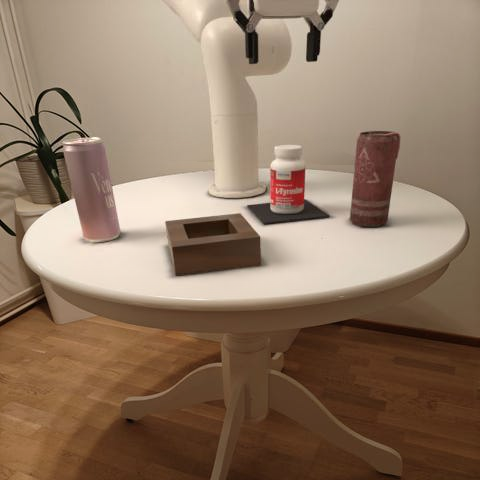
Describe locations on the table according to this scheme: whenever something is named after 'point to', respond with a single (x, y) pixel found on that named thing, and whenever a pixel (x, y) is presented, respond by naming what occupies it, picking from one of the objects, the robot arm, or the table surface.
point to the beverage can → (92, 188)
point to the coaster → (270, 217)
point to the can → (373, 177)
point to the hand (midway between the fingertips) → (282, 62)
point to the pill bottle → (287, 180)
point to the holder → (212, 244)
